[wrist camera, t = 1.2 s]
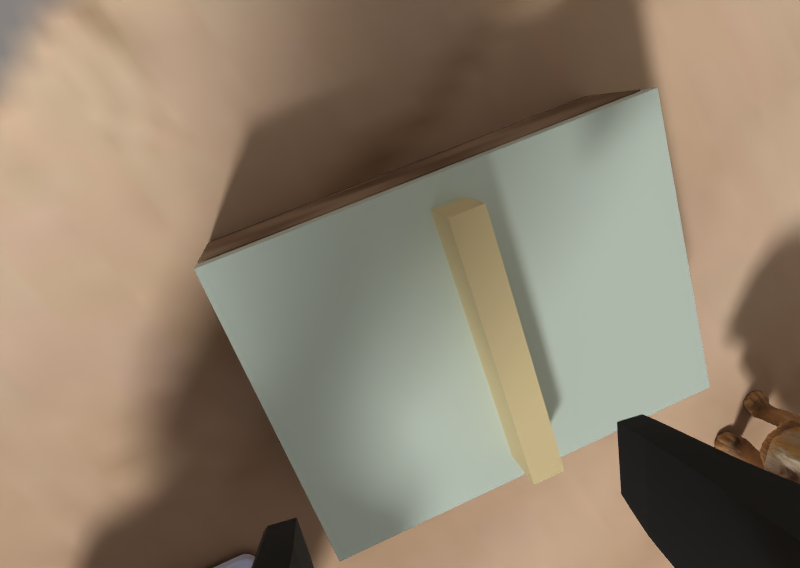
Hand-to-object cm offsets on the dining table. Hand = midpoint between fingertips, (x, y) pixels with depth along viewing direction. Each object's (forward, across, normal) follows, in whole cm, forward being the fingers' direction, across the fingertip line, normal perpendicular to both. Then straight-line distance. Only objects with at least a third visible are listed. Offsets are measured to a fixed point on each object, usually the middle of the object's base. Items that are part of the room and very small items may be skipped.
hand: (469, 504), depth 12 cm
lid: (+8, -3, 0) cm, 9 cm away
